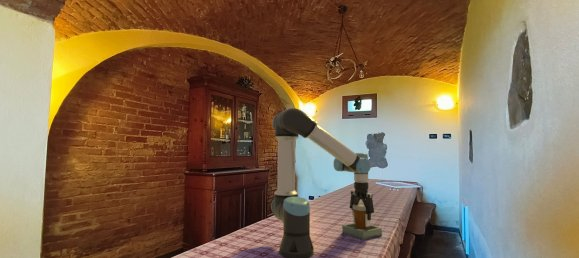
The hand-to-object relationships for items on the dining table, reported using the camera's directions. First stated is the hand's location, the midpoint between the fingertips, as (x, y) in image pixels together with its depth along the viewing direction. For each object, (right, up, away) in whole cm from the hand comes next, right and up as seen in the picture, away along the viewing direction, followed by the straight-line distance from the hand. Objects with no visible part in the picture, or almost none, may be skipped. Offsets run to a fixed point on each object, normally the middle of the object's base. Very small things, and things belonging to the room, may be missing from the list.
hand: (361, 224), depth 157 cm
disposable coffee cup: (0, -2, 0) cm, 2 cm away
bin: (0, -5, 0) cm, 5 cm away
